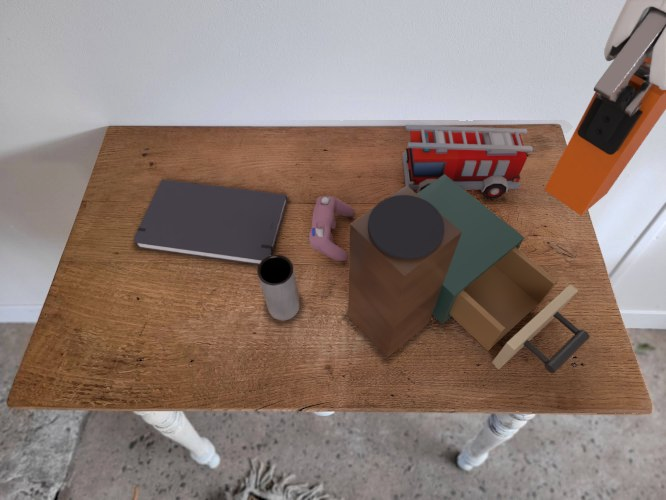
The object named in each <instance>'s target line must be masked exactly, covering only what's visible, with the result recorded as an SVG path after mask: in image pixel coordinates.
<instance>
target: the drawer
mask: <svg viewBox="0 0 666 500" xmlns="http://www.w3.org/2000/svg"><path fill="white" fill-rule="evenodd" d="M557 283H558V280H557V279H556V278H554V277H553V276H552V275H551V274H550V273H549V272H547V271H546V270H545V269H544V268H542V267H541V266H540V265H539V264H537V263H536V262H535V261H534V260H532V259H531V258H530V257H529V256H527V255H526V254H525V253H524V252H523V251H521V250H520V248H519V249H517V248H516V247H515V248H514V249H512V250H511V251H510V252H509V253H508V254H506V255H505V256H504V257H503V258H502V259H500V260H499V261H498V262H497V263H495V264H494V265H493V266H492V267H491V268H489V269H488V270H487V271H486V272H485V273H483V274H482V275H481V276H480V277H479V278H477V279H476V280H475V281H474V282H473V283H471V284H470V285H469V286H468V287H466V288H465V289H464V290H463V291H462V292H460V293H459V294H458V295H457V297H456V299H455V302H454V304H453V306H452V309H451V311H450V313H449V314H450V315H451V316H452V317H451V318H452V319H454V320H455V321H456V322H457V323H458V324H459V325H460V326H461V327H462V328H463V329H464V330H465V331H466V332H468V334H469V335H470V336H472V337H473V339H474V340H476V341H477V342H478V343H479V344H480V345H481V346H482V347H483V348H484V349H485V350H486V351H487V352H489V351H490V350H491V349H492V348H493V347H495V345H497V344H498V343H499V342H500V341H501V340H502V339H504V337H505V336H506V335H508V333H510V332H511V331H512V330H513V329H514V328H515V327H516V326H517V325H519V324H520V323H521V322H522V321H523V320H524V319H525V318H526V317H527V316H529V315H530V313H532V312H533V311H534V310H535V309H536V308H538V307H539V305H540V304H542V302H543V301H544V300H545V299H546V297H547V296H548V295H549V293H550V292H551V290H552V289H553V288H554V286H555V285H556V284H557ZM578 292H579V289H578V288H577V287H575V286H574V285H572V284H571V283H569V284H568V286H567V287H564V289H563V290H562V291H561V292H560V293H559V294H558V295H556V296H555V297H554V298H553V299H552V300H551V301H550V302H549V303H548V304H546V306H545V307H543V308H542V309H541V310H540V311H539V312H538V313H537V314H536V315H535V316H534V317H533V318H531V319H530V320H529V322H527V323H526V324H525V325H524V326H523V327H521V329H520V330H519V331H518V332H516V333H515V334H514V335H513V336H512V337H511V338H510V339H509V340H508V341H506V343H505V344H504V345H503V347H502V348H501V349H500V350H499V352H498V353H497V355H496V356H495V358H494V359H493V360H492V361H491V364H492V365H493V366H494V367H495V368H497V369H498V370H500V369H501V368H502V367H503V366H505V365H506V363H508V362H509V361H510V360H511V359H512V358H513V357H514V356H515V355H516V354H518V352H520V350H521V349H522V348H524V347H526V349H527V350H529V352H531V353H532V354H533V355H535V357H536V358H538V360H540V361H541V362H542V363H543V364H544V369H545V370H546V371H547V372H548V373H550V374H555V373H557V371H558V370H559V369H560V368H561V367H562V366H563V365H564V364H565V363H566V362H567V361H568V360H569V359H570V358H571V357H572V356H573V355H574V354H575V353H576V352H577V351H578V350H579V349H580V348H581V347H582V346H583V345H584V344H585V343H587V341H588V340H589V339H590V337H591V336H590V334H589V333H588V332H587V331H586V330H585V329H579V328H578V327H577V326H575V325H574V324H573V323H572V322H571V321H569V320H568V319H567V318H566V317H565V316H564V315H562V314H561V313H560V312H561V311H562V310H563V309H564V308H565V307H566V305H568V303H569V302H570V301H571V300H572V298H573V297H574V296H575V295H576V294H577V293H578ZM553 319H556V320H557V321H558V322H559V323H560V324H561V325H563V326H564V327H565V328H567V329H568V330H569V331H570V332H571V333H572V334H574V335H573V336H571V337H570V339H569V340H568V341H567V342H566V343H565V344H563V346H561V348H560V349H559V350H557V352H556V353H554V354H553V355H552V357H550V358H549V357H547V356H546V355H545V354H544V353H543V352H541V350H539V349H538V348H537V347H536V346H535V345H534V344H533V343H531V342H530V341H531V340H532V339H533V338H534V337H535V336H536V335H537V334H539V333H540V332H541V331H542V330H543V329H544V328H545V327H546V326H548V324H549V323H551V321H552V320H553Z"/></svg>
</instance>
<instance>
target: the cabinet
mask: <svg viewBox="0 0 666 500" xmlns="http://www.w3.org/2000/svg"><path fill="white" fill-rule="evenodd" d="M416 194H417V195H419V196H420V197H421V198H422V199H423V200H426V201H427V202H429V203H430V204H432V205H433V206H434V207H435V208H436V209H437V210H438V211H439V213H440V214H441V215H442V216H444V217H445V218H446V219H447V220H448V221H450V222H451V223H452V224H453V225H454V226H456V227H457V228H458V229H459V230H460V231H461V232H462V233H461V236H460V239H459V242H458V244H457V247H456V250H455V253H454V256H453V258H452V261H451V264H450V267H449V269H448V272H447V275H446V278H445V281H444V283H443V286H442V289H441V292H440V294H439V297H438V300H437V303H436V305H435V308H434V311H433V314H432V316H433V317H434V318H435V319H436V320H437V321H438V322H439V323H440V324H441V325H443V324H445V323H446V322H447V321H448V320H449V319H451V318H453V317H452V316H451V315H450V314H449V313H450V311H451V309H452V306H453V304H454V302H455V299H456V297H457V295H458V294H459V293H460V292H462V291H463V290H464V289H465V288H466V287H468V286H469V285H470V284H471V283H473V282H474V281H475V280H476V279H477V278H479V277H480V276H481V275H482V274H483V273H485V272H486V271H487V270H488V269H489V268H491V267H492V266H493V265H494V264H495V263H497V262H498V261H499V260H500V259H502V258H503V257H504V256H505V255H506V254H508V253H509V252H510V251H511V250H512V249H514V248H515V247H516V248H517V249H519V250H520V247H521V245H522V243H523V242H524V240H525V236H524V235H522V234H521V232H519V231H518V230H516V229H515V228H513V226H511V225H510V224H509V223H507V222H506V221H505V220H503V219H502V218H500V217H499V216H498V214H496V213H495V212H493V211H492V210H491V209H489V208H488V207H487V206H486V205H484V204H483V203H482V202H480V200H478V199H477V198H475V197H474V196H473V195H472V194H471V193H469V192H468V191H467V190H464V189H463V188H461V187H460V186H459V185H458V184H456V183H455V182H454V181H453V180H451V179H450V178H449V177H447V176H446V175H445V174H444V175H443V176H441V177H440V178H438V179H437V180H435V181H434V182H433V183H431V184H430V185H428V186H427V187H425V188H424V189H423V190H421V191H420V192H418V193H417V192H416Z"/></svg>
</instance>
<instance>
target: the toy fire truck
mask: <svg viewBox="0 0 666 500" xmlns="http://www.w3.org/2000/svg"><path fill="white" fill-rule="evenodd" d="M406 131H407V132H409V137H410V138H409V139H410V142H407V148H405V152H402V157H401V158H402V167H403V177H404V187H405V186H408V187H409V188H410V189H411V190H413V191H416V194H417V193H418V192H420V191H421V190H423V189H424V188H425V187H427V186H428V185H430V184H431V183H433V182H434V181H435V180H437V179H438V178H440V177H441V176H443V175H444V174H445V175H446V176H447V177H449V178H450V179H451V180H453V181H454V182H455V183H456V184H458V185H459V186H460V187H461V188H463V189H464V190H465V191H471V190H473V191H475V190H478V191H479V190H480V192H481V193H483V196H484V197H486V198H487V199H490V200H491V199H492V200H496V199H498V198H502V196H503V195H504V194H506V193H508V192H509V190H519V188H520V186H521V183H520V180H521V176H520V175H521V174H522V173H521V172H522V171H523V168H524V166H525V164H526V163H527V162H526V161H527V159H528V155H527V152H531V153H532V152H533V150H534V148H533V146H532V145H524V143H523V138H522V136H521V135H528V129H527V128H514V127H513V128H511V127H484V126H483V127H482V126H481V127H479V126H449V125H448V126H446V125H417V124H415V125H414V124H413V125H412V124H410V125H409V124H405V132H406Z"/></svg>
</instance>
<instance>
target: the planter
mask: <svg viewBox="0 0 666 500" xmlns="http://www.w3.org/2000/svg"><path fill="white" fill-rule="evenodd" d="M256 273H257V278H258V281H259V284H260V288H261V290H262V294H263V297H264V301H265V304H266V307H267V310H268V313H269V314H270V316H271V317H272V318H274V319H275V320H278V321H287V320H291V319H292V318H294V317H295V316H296V315H297V314H298V313H299V311H300V305H301V304H300V303H301V302H300V297H299V291H298V286H297V279H296V274H295V268H294V264H293V262H292V261H291V259H290V258H289V257H288V256H286V255H283V254H272V255H270V256H268V257H266V258H264V259H263V260H262V261H261V262H260V264H259V265H257V272H256Z"/></svg>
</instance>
